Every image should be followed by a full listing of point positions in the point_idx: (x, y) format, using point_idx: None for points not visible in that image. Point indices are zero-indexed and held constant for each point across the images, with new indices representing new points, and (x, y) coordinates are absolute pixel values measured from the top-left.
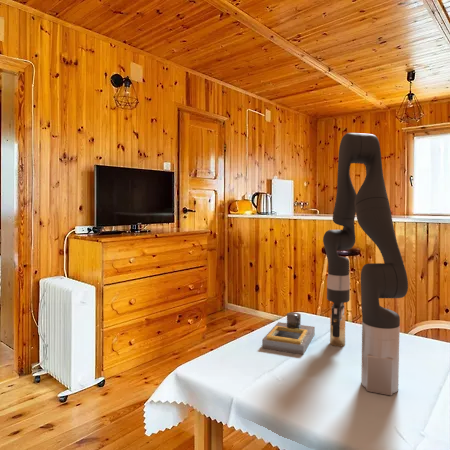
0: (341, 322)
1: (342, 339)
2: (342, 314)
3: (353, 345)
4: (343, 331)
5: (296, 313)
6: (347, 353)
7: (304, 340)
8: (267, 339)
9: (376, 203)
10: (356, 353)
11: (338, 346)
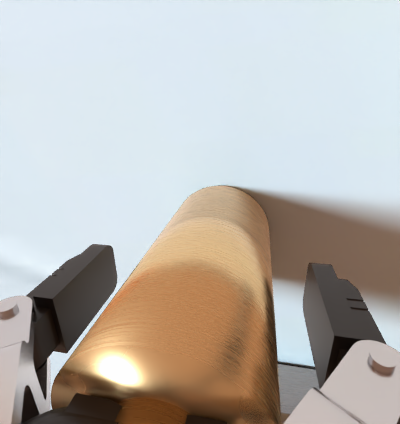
0: (263, 339)
1: (254, 219)
2: (27, 361)
3: (197, 129)
4: (244, 244)
5: None
6: (373, 158)
7: None
8: None
9: None
10: (357, 92)
11: (267, 223)
